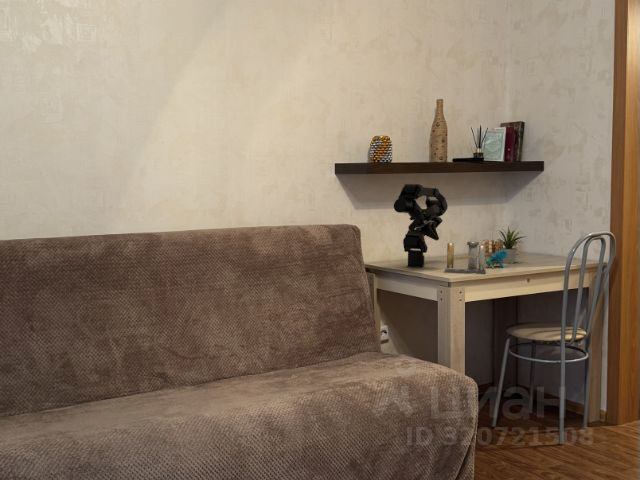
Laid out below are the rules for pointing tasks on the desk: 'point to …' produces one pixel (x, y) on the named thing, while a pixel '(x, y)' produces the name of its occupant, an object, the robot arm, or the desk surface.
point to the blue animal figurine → (496, 259)
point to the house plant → (510, 245)
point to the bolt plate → (463, 271)
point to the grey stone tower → (473, 256)
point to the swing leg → (452, 255)
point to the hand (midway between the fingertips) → (437, 239)
